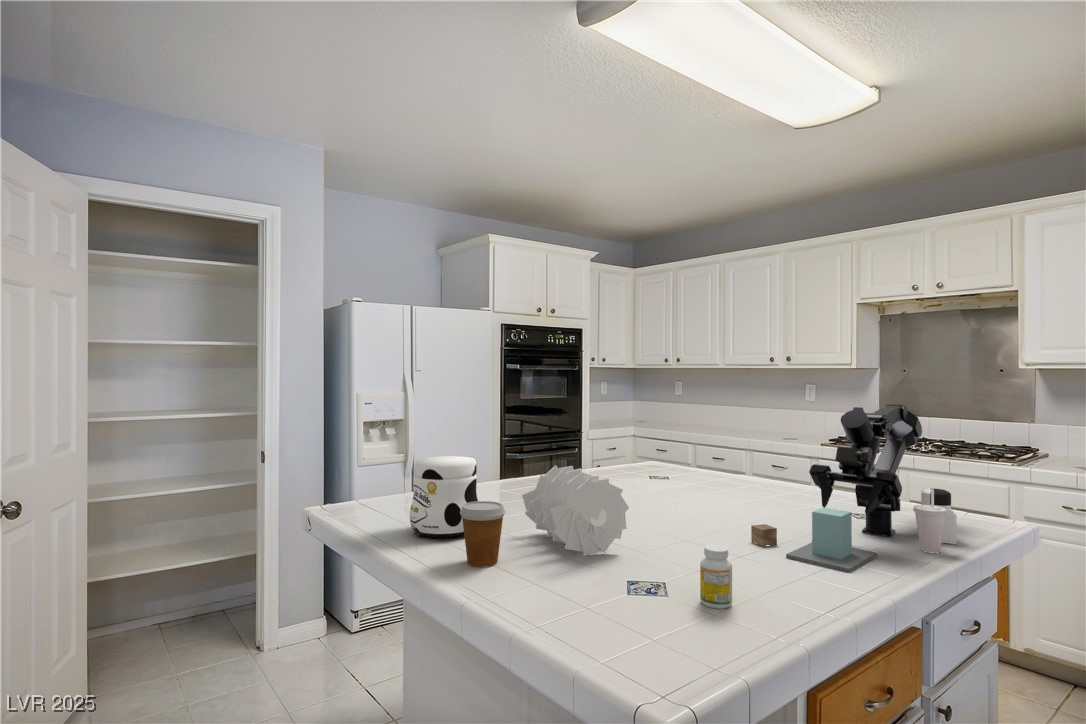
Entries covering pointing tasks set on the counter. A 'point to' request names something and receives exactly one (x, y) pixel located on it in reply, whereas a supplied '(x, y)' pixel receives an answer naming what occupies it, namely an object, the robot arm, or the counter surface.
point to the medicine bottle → (950, 521)
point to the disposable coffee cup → (482, 531)
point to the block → (764, 534)
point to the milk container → (442, 494)
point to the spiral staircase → (577, 509)
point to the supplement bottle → (716, 577)
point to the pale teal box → (832, 533)
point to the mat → (843, 564)
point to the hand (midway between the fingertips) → (844, 509)
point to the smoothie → (930, 525)
